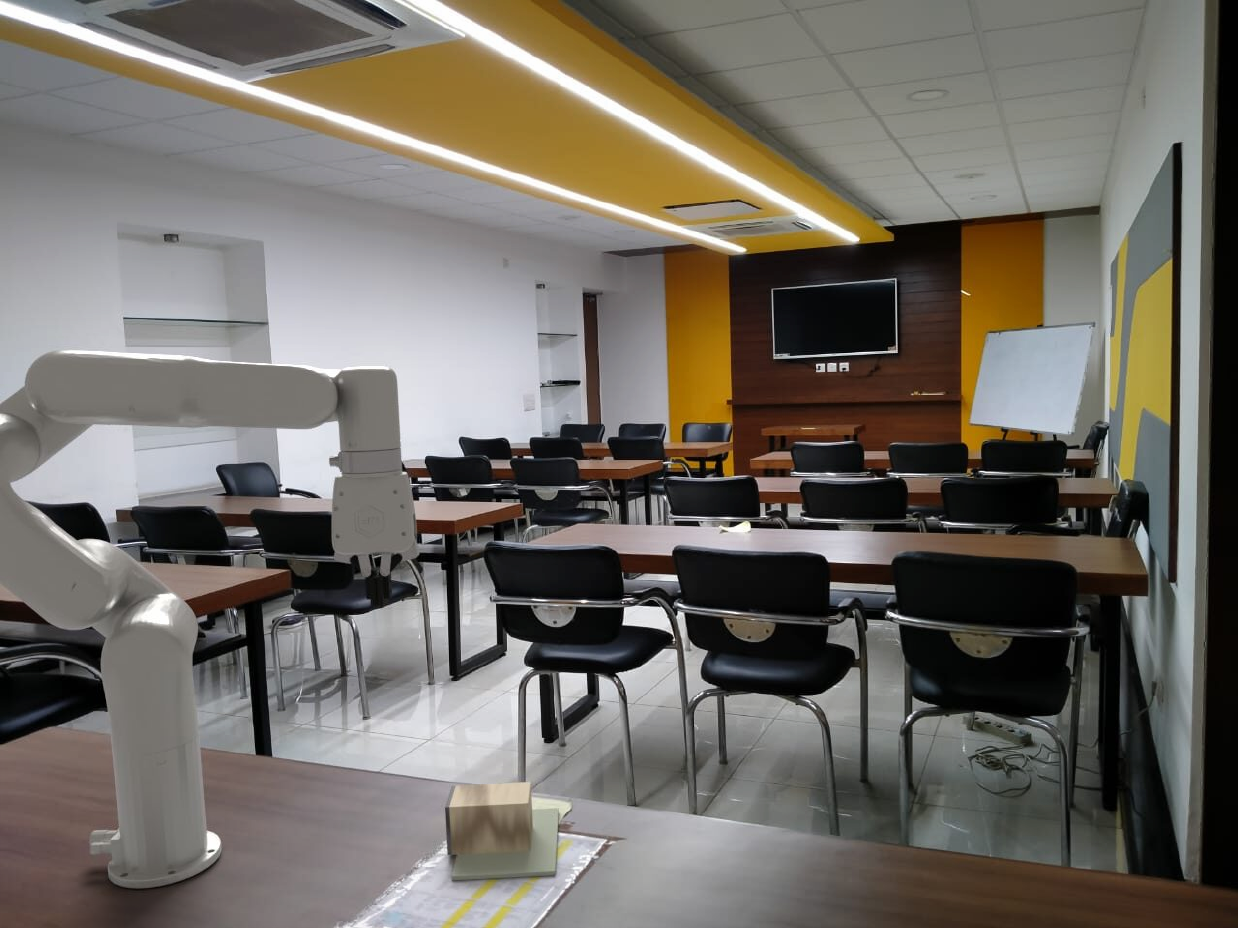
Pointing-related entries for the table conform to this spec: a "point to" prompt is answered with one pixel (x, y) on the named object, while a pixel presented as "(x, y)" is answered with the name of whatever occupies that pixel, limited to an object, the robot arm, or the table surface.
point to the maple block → (489, 818)
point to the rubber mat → (516, 854)
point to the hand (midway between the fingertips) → (379, 604)
